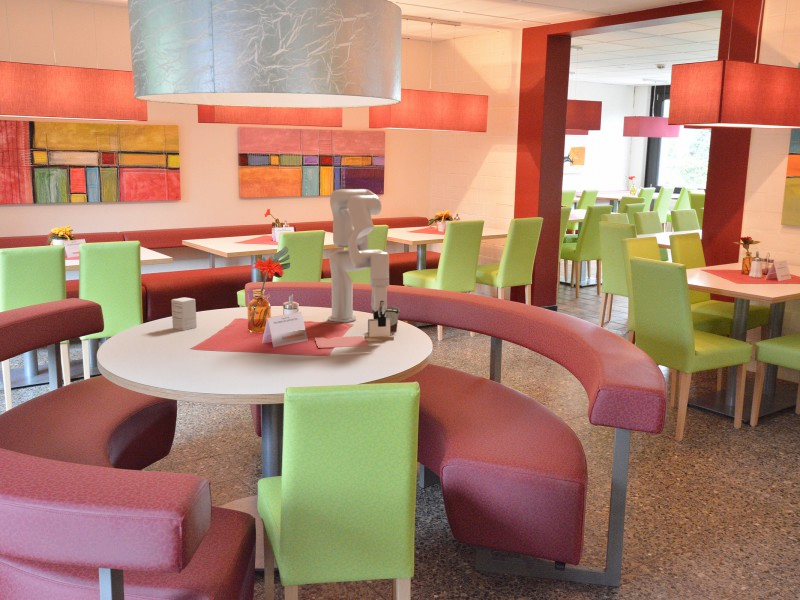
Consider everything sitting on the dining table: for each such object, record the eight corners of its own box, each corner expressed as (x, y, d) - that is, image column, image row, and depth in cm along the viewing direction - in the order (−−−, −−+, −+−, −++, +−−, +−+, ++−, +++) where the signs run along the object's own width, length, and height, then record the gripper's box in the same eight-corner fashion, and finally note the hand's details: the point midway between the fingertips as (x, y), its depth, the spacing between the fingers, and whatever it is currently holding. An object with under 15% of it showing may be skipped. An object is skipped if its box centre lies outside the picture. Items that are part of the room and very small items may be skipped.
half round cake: (401, 329, 333) (401, 306, 331) (400, 332, 327) (400, 309, 325) (373, 328, 334) (373, 305, 332) (371, 331, 328) (371, 308, 326)
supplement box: (186, 325, 336) (184, 296, 334) (197, 327, 332) (196, 298, 329) (172, 328, 330) (170, 299, 328) (183, 330, 326) (182, 301, 323)
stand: (364, 338, 316) (364, 334, 316) (390, 337, 318) (391, 333, 318) (367, 341, 310) (367, 338, 309) (393, 340, 312) (394, 337, 312)
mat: (314, 339, 314) (314, 337, 313) (362, 337, 318) (362, 336, 317) (318, 348, 298) (318, 347, 298) (369, 346, 302) (369, 345, 302)
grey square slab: (367, 338, 314) (368, 319, 312) (389, 337, 316) (389, 318, 314) (368, 339, 312) (368, 320, 310) (390, 338, 314) (390, 319, 312)
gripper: (367, 279, 317) (367, 320, 320) (374, 285, 300) (374, 328, 303) (384, 279, 318) (384, 319, 321) (393, 285, 302) (392, 328, 305)
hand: (379, 324), depth 312 cm, fingers open, 9 cm apart
